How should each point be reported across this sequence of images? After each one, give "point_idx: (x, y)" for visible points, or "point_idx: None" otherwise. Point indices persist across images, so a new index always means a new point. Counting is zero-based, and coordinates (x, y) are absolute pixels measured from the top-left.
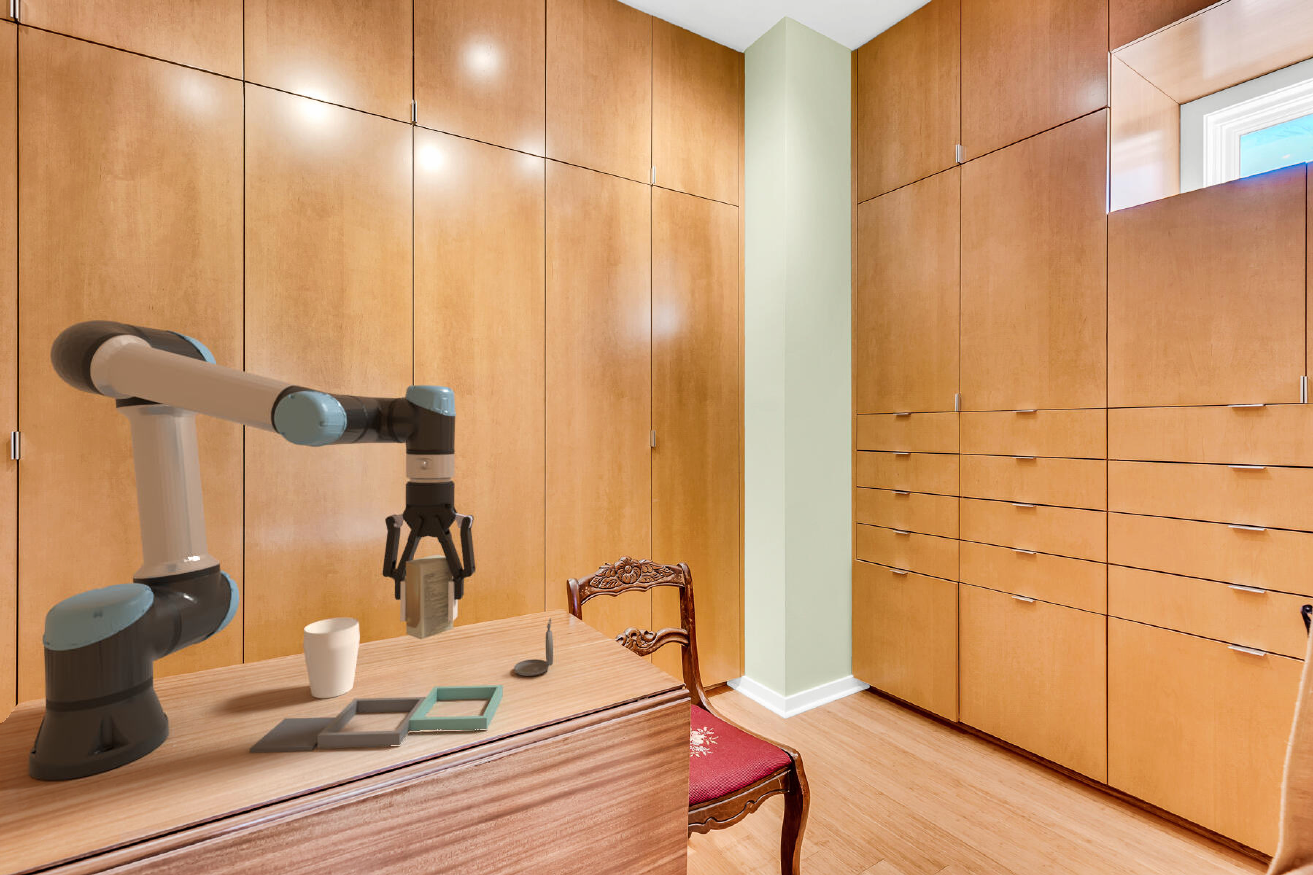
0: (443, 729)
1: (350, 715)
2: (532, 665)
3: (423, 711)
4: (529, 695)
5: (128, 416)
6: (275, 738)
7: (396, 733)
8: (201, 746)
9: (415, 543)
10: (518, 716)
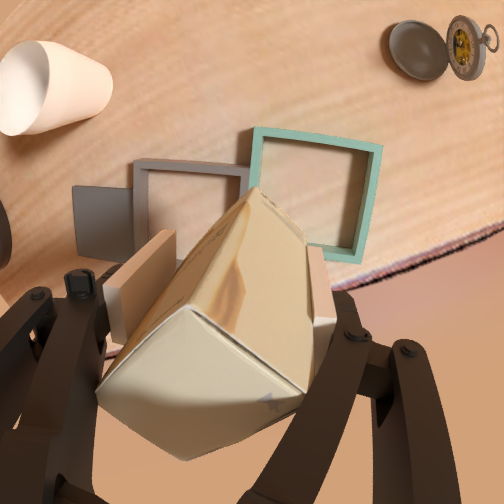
0: None
1: (145, 188)
2: (417, 33)
3: None
4: (420, 153)
5: None
6: (89, 237)
7: None
8: (36, 231)
9: (87, 472)
10: (401, 223)
